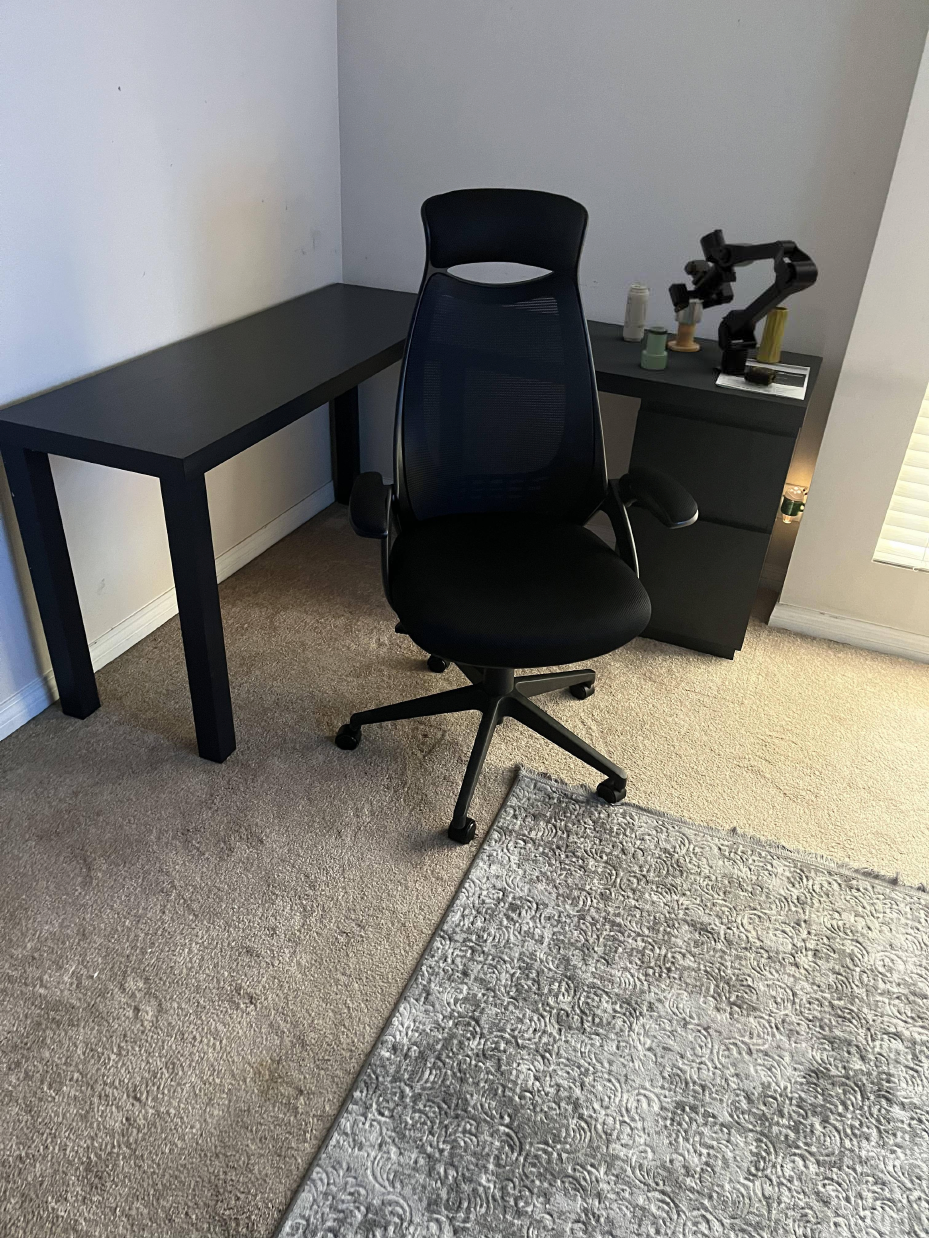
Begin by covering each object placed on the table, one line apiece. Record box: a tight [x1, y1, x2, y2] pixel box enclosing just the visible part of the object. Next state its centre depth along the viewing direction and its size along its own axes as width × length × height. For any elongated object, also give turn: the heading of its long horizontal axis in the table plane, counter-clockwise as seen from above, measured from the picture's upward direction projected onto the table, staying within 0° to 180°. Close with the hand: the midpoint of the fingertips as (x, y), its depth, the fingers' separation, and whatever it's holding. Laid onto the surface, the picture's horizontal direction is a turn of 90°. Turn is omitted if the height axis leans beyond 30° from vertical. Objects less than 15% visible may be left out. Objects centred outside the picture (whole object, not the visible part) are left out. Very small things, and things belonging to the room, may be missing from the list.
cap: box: [674, 299, 704, 325], centre depth 249 cm, size 7×7×6 cm
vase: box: [756, 305, 789, 364], centre depth 242 cm, size 6×6×14 cm
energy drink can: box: [622, 284, 650, 342], centre depth 257 cm, size 6×6×15 cm
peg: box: [667, 322, 701, 353], centre depth 252 cm, size 9×9×10 cm
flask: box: [640, 326, 668, 371], centre depth 236 cm, size 7×7×10 cm
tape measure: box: [743, 366, 777, 387], centre depth 226 cm, size 7×7×4 cm
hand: (686, 310), depth 251 cm, fingers closed on cap, 7 cm apart
